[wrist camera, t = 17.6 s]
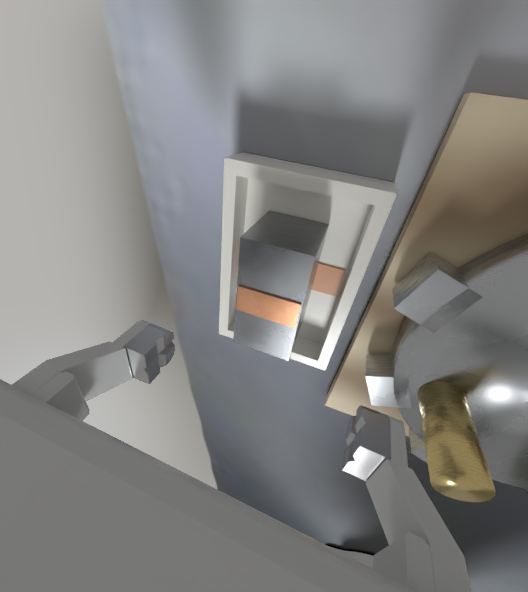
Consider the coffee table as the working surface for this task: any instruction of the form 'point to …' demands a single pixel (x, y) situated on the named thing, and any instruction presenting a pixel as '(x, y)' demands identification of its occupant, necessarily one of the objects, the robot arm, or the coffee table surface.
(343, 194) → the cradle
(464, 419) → the sprocket
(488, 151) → the sprocket base
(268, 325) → the gray banded block
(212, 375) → the coffee table surface
